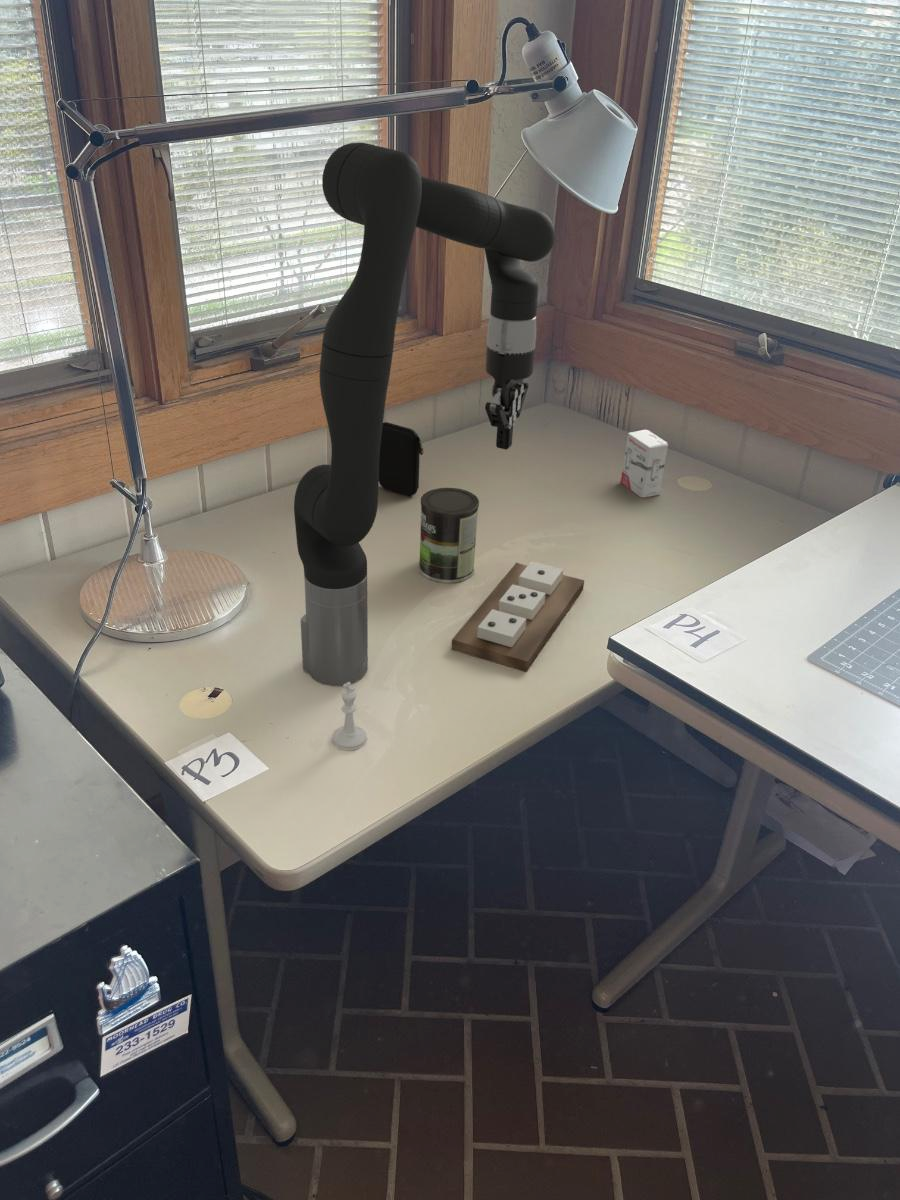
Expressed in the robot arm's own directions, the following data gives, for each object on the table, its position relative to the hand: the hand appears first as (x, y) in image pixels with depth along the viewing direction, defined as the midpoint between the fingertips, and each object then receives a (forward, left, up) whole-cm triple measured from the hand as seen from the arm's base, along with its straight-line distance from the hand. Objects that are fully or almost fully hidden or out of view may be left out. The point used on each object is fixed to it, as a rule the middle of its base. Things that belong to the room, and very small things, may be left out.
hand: (503, 447), depth 166 cm
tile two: (+8, -16, -25) cm, 30 cm away
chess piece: (-2, -48, -27) cm, 55 cm away
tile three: (+8, -7, -25) cm, 27 cm away
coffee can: (-10, +2, -27) cm, 29 cm away
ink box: (+12, +53, -27) cm, 61 cm away
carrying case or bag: (-32, +26, -27) cm, 50 cm away
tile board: (+8, -7, -27) cm, 29 cm away
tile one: (+8, +2, -25) cm, 26 cm away
